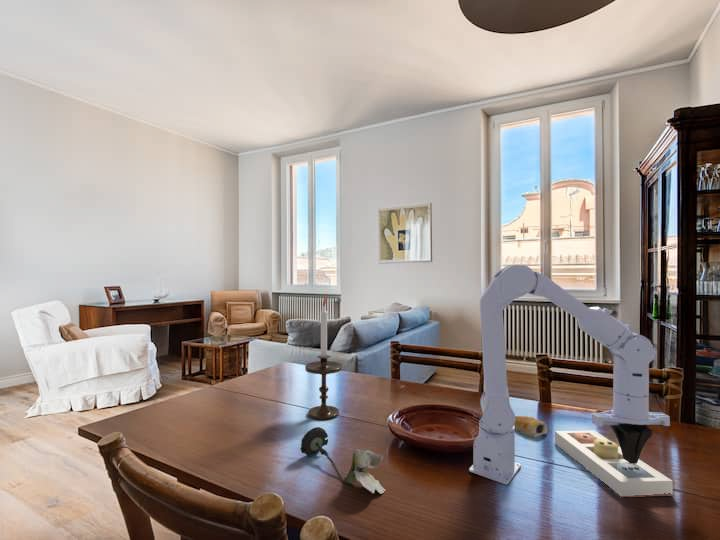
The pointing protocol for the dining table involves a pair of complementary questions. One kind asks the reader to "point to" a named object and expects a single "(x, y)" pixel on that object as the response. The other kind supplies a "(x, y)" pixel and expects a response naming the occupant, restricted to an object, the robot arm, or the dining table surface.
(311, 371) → the candlestick
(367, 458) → the artificial flower
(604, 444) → the mustard button
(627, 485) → the button panel
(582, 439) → the terracotta button
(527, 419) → the pastry
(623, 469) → the slate button
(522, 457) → the dining table surface
